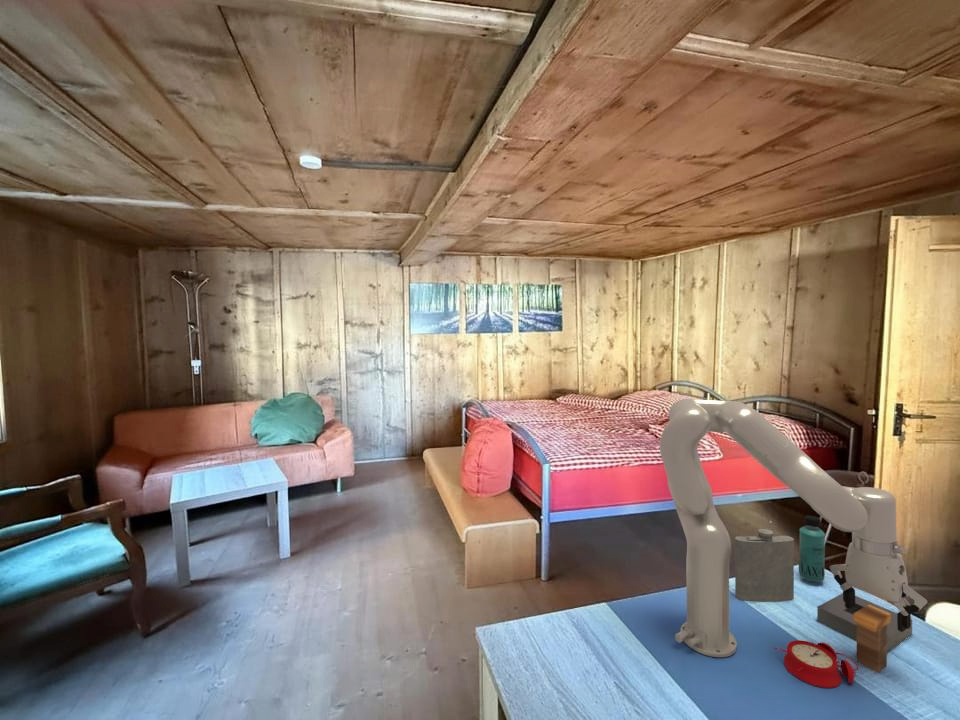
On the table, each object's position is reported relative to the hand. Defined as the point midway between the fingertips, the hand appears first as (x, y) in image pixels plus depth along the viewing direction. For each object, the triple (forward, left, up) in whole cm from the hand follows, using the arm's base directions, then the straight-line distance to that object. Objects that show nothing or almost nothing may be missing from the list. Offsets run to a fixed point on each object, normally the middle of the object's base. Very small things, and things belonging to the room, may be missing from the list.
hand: (875, 617), depth 100 cm
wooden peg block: (0, 0, -11) cm, 11 cm away
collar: (+13, +7, -11) cm, 18 cm away
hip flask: (+4, +27, -12) cm, 30 cm away
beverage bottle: (+25, +25, -11) cm, 37 cm away
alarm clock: (-13, +5, -12) cm, 18 cm away
